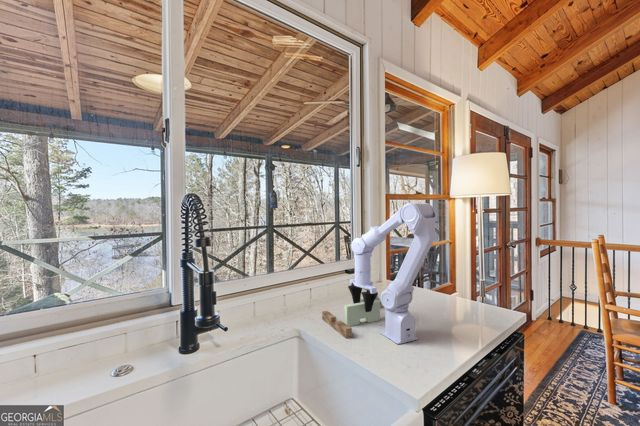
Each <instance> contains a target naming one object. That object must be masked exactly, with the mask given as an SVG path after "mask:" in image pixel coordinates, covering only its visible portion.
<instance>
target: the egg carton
mask: <svg viewBox="0 0 640 426" xmlns="http://www.w3.org/2000/svg"><path fill="white" fill-rule="evenodd" d="M378 295H379V294H378ZM378 295H377V296H376V298H375V300H378V301H380V310H381V309H382V308H384V306H383V305H382V303H381V297H379V296H378ZM361 302H364V299H363V298H360V303H361Z"/></svg>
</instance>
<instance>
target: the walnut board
mask: <svg viewBox="0 0 640 426" xmlns="http://www.w3.org/2000/svg"><path fill="white" fill-rule="evenodd" d="M321 319H322V320H323V321H324V323H326V324H327V325H328V326H330V327H331V328H333V329H334V330H335V331H336V332H337V333H338V334H340V335H341V336H343V337H344V338H345V339H351V338H352V337H353V336H352V335H353V334H352V333H353V332H352V331H353V329H352V326H348V325H347V324H345V323H344V321H342V320H341V319H339V320H337V316H335V315H334V314H333V313H331V312H330V311H329V310H322V311H321Z"/></svg>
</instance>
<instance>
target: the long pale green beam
mask: <svg viewBox="0 0 640 426" xmlns="http://www.w3.org/2000/svg"><path fill="white" fill-rule="evenodd" d="M380 301H381V300H380ZM380 301H378V300H374V303H373V306H372V310H371V312H365V305H364V302H361V303H355V304H354V303H351V304H350V303H349V304H344V306H343V307H344V309H343V312H344V313H343V314H344V317H343V318H344V320H343V322H344V323H345V324H347V325H348V326H349V327H352V326H357V325H361V319H364V321H365V322H366V323H373V322H377V321H381V309H380Z"/></svg>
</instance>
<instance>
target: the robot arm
mask: <svg viewBox="0 0 640 426" xmlns="http://www.w3.org/2000/svg"><path fill="white" fill-rule="evenodd" d="M437 214H438V213H436V210H435V207H434V206H433V205H431V204H430V203H427V202H423V203H413V202H407V203H406V204H404V205H403V206H402V207H400V208H398V210H397V211H396V212H395V213H394V214H393V215H391V216H390V217H389V218H388V219H387V220H386V221H385V222H384V223H383V224H381V225H380V226H379V225H375V226H374V225H372V226H371V227H369V230H368V231H367V232H365V233H362V235H361V237H356V238H354V239H353V240H352V242H351V244H350V247H351V250H352V252H353V254H354V278H353V277H352V278H349V284H350V285H348V286H347V288H348V290H349V292H350V295H351V298H352V302H353V303H352V304H355V303H360V299H364V305H365V312H371V310H372V306H373V303H374V300H375V298H376V296H377V295H379V293H378V290H377V287H376V286H374V285H373V284H374V283H373V281H371V274H372V273H371V262H372V261H371V258H372V256H373V255H372V254H373V251H374V250H375V247H377V246H378V245H380V244H381V243H382V242H384V241H385V240H387V235H388V234H389V233H391V232H393V231H394V230H395V229H397V228H399V227H400V226H402V225H403V224H405V225H406V226H407V227H408V228H409V230H410V231H411V233H412V235H413V239H412V241H411V244H410V245H409V248H408V250H407V252H406V255H405V257H404V259H403V261H402V263H401V266H400V268H399V270H398V272H397V274H396V276H395V279H394V280H391V282H390V283H389V284H388V285H387V287H386V288H385V290H383V291H382V292H381V293H380V301H381V303H382V305H383V308H384V315H385V316H384V318H385V320H384V324H385V325H384V329H382V330H380V331H379V334H381V335H383V336H384V337H386V338H387V339H388V340H390V341H392V342H393V343H395V344H397V345H400V344H404V343H408V342H412V341H416V340H418V337H416V318H415V316H414V315H413V314H411V313H410V311H409V307H410V305H409V304H411V303H412V300H413V293H414V290H415V288H414V287H415V286H413V284H414V282H415V280H416V278H417V276H418V273H419V272H420V269H421V268H422V265H423V263H424V262H425V260H426V258H427V255H428V253H429V251H430V249H431V247H432V245H433V243H434V241H435V238H436V219H437V218H438V215H437ZM363 290H364V291H363ZM361 297H362V298H361Z"/></svg>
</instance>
